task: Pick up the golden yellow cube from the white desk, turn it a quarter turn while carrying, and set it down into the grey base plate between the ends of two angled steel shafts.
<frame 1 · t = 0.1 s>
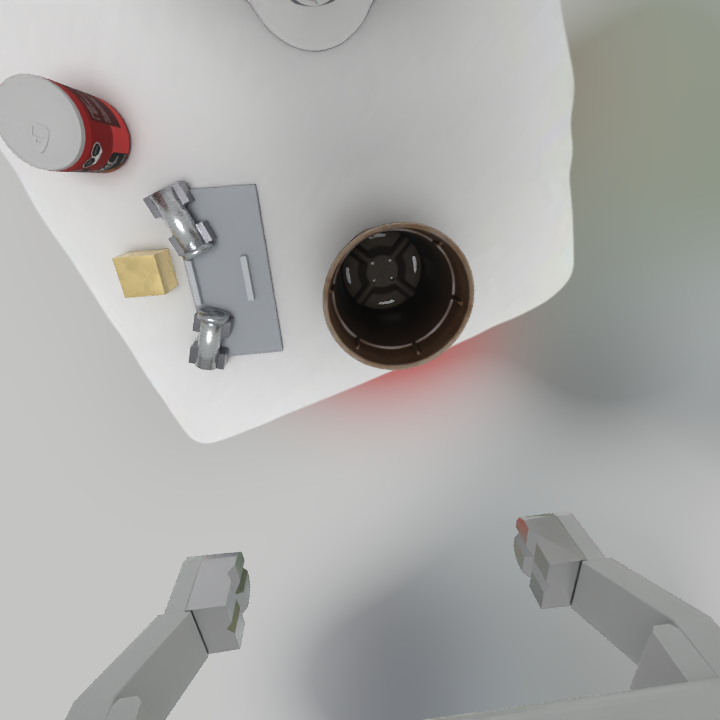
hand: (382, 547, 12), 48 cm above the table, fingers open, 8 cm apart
canned food: (99, 136, 47), on the table
golden yellow cube: (154, 268, 54), on the table
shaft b: (216, 331, 58), resting on grey base plate
shaft a: (189, 221, 51), resting on grey base plate
plant pot: (379, 270, 56), on the table
grey base plate: (224, 277, 55), on the table
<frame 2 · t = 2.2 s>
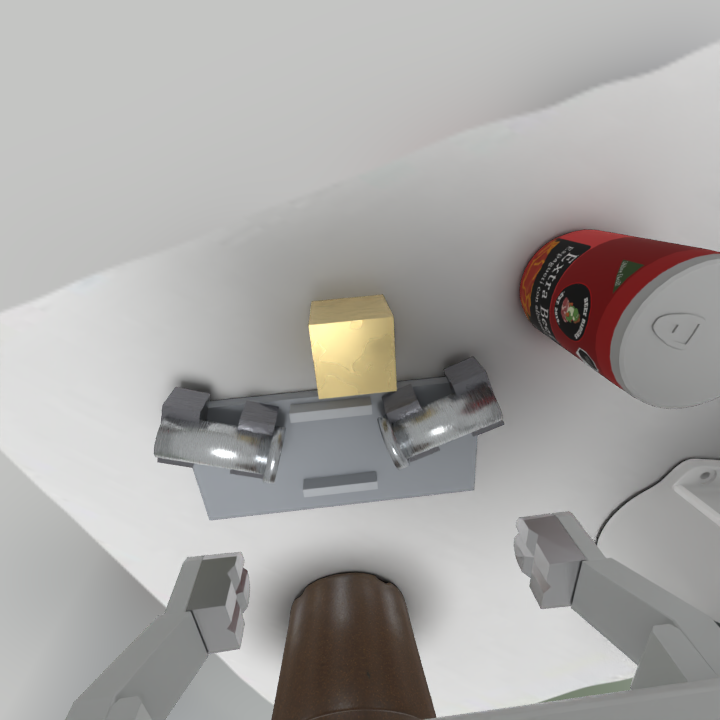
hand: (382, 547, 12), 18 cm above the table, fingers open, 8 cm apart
canned food: (568, 282, 28), on the table
golden yellow cube: (350, 331, 28), on the table
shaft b: (233, 417, 31), resting on grey base plate
shaft a: (428, 397, 31), resting on grey base plate
plant pot: (347, 606, 41), on the table
grey base plate: (335, 436, 32), on the table
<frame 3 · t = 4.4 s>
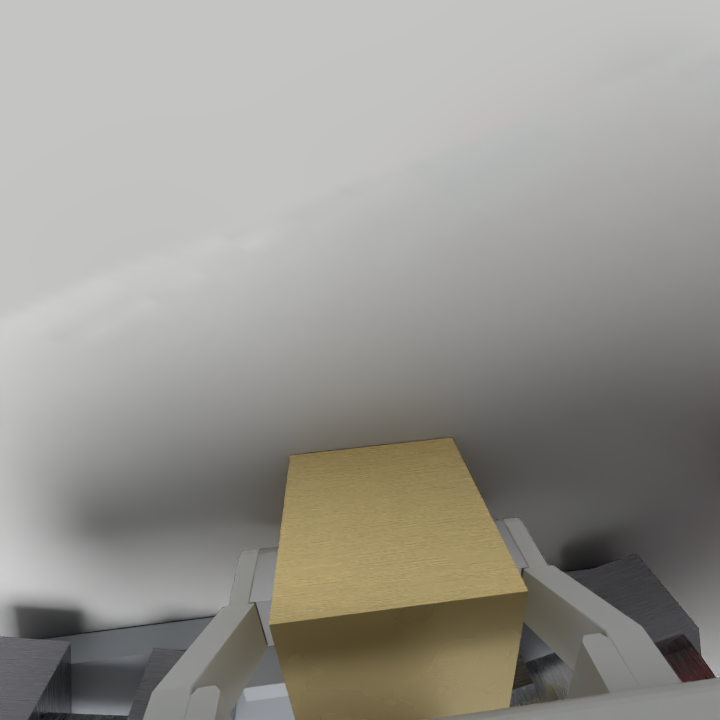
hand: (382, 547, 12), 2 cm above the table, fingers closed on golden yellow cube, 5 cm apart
golden yellow cube: (376, 507, 13), on the table, touching gripper
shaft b: (137, 655, 15), resting on grey base plate
shaft a: (523, 604, 16), resting on grey base plate
grey base plate: (341, 669, 17), on the table
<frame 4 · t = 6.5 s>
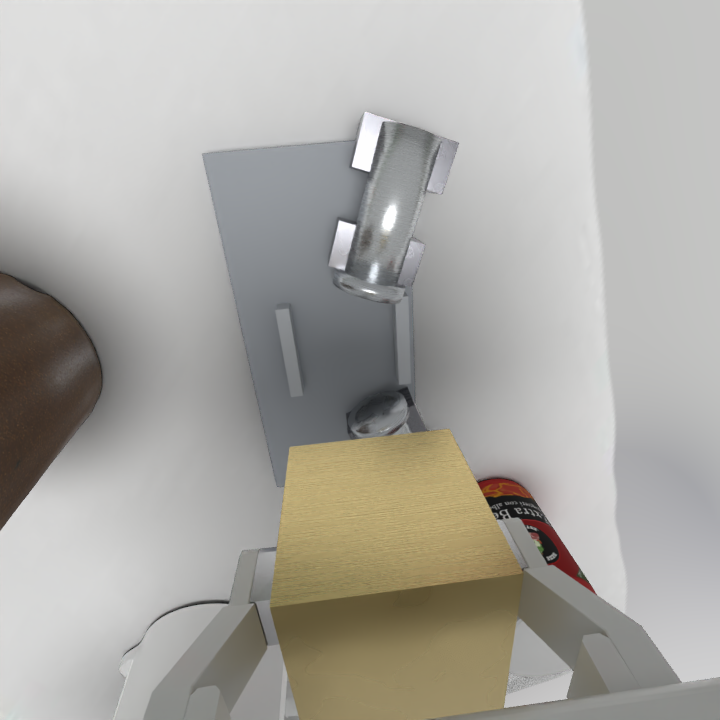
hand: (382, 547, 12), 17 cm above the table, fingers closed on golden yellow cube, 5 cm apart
canned food: (487, 508, 35), on the table
golden yellow cube: (374, 498, 13), point 15 cm above the table, touching gripper
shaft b: (379, 212, 23), resting on grey base plate
shaft a: (391, 425, 30), resting on grey base plate
plant pot: (8, 356, 25), on the table
grey base plate: (345, 336, 27), on the table
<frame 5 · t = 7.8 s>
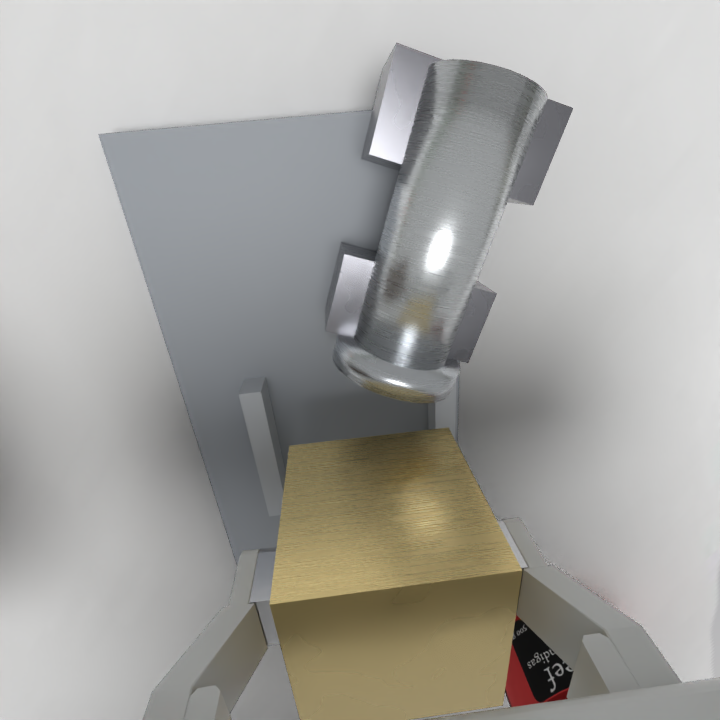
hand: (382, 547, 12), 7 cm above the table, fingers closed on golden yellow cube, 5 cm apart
canned food: (543, 624, 26), on the table
golden yellow cube: (374, 497, 13), point 5 cm above the table, touching gripper
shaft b: (408, 232, 14), resting on grey base plate
grey base plate: (352, 417, 18), on the table
when the fingers open (4 cm above the table, at t = 8.7 s): golden yellow cube drops 1 cm, resting on grey base plate.
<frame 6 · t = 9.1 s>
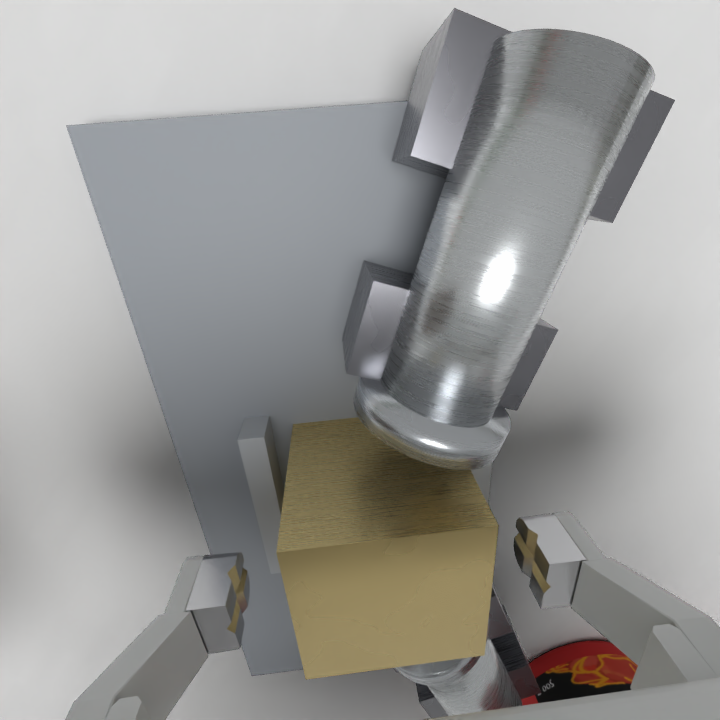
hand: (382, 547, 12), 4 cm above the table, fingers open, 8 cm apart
canned food: (568, 673, 24), on the table
golden yellow cube: (371, 473, 14), point 1 cm above the table, touching grey base plate
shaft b: (441, 249, 12), resting on grey base plate
shaft a: (436, 580, 19), resting on grey base plate
grey base plate: (368, 457, 15), on the table
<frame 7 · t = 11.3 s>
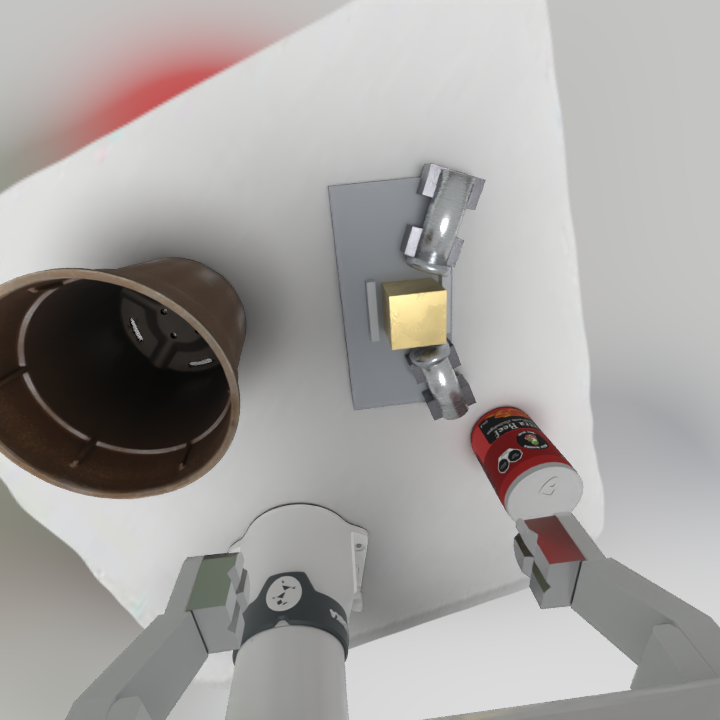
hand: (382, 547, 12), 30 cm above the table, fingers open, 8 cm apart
canned food: (499, 431, 48), on the table
golden yellow cube: (407, 304, 39), point 1 cm above the table, touching grey base plate
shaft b: (431, 220, 37), resting on grey base plate
shaft a: (433, 366, 43), resting on grey base plate
plant pot: (186, 316, 39), on the table
grey base plate: (405, 302, 40), on the table
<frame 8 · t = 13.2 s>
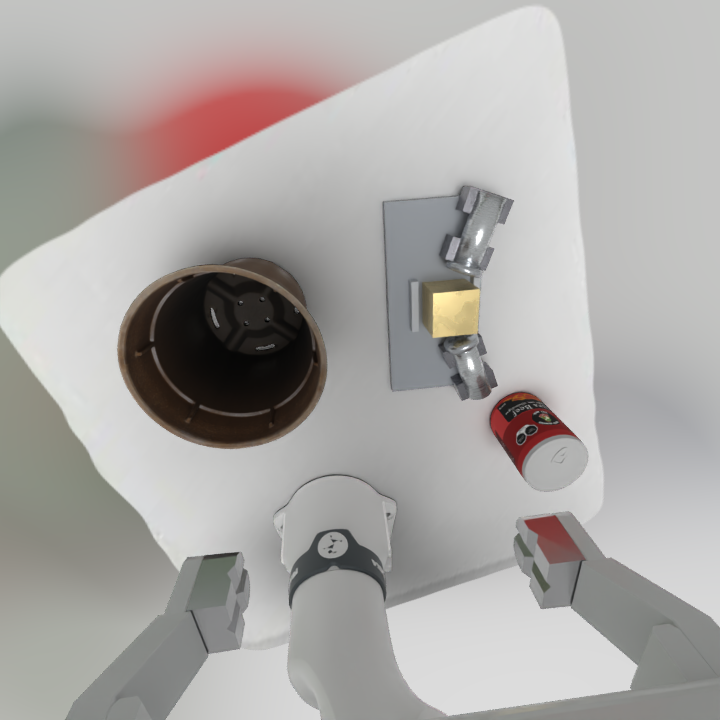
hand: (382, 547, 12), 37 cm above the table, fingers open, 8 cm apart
canned food: (514, 414, 56), on the table
golden yellow cube: (443, 301, 46), point 1 cm above the table, touching grey base plate
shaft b: (465, 231, 44), resting on grey base plate
shaft a: (461, 354, 51), resting on grey base plate
plant pot: (257, 307, 46), on the table
grey base plate: (440, 299, 47), on the table
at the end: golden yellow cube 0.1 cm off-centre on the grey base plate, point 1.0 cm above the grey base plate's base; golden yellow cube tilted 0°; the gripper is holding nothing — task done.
